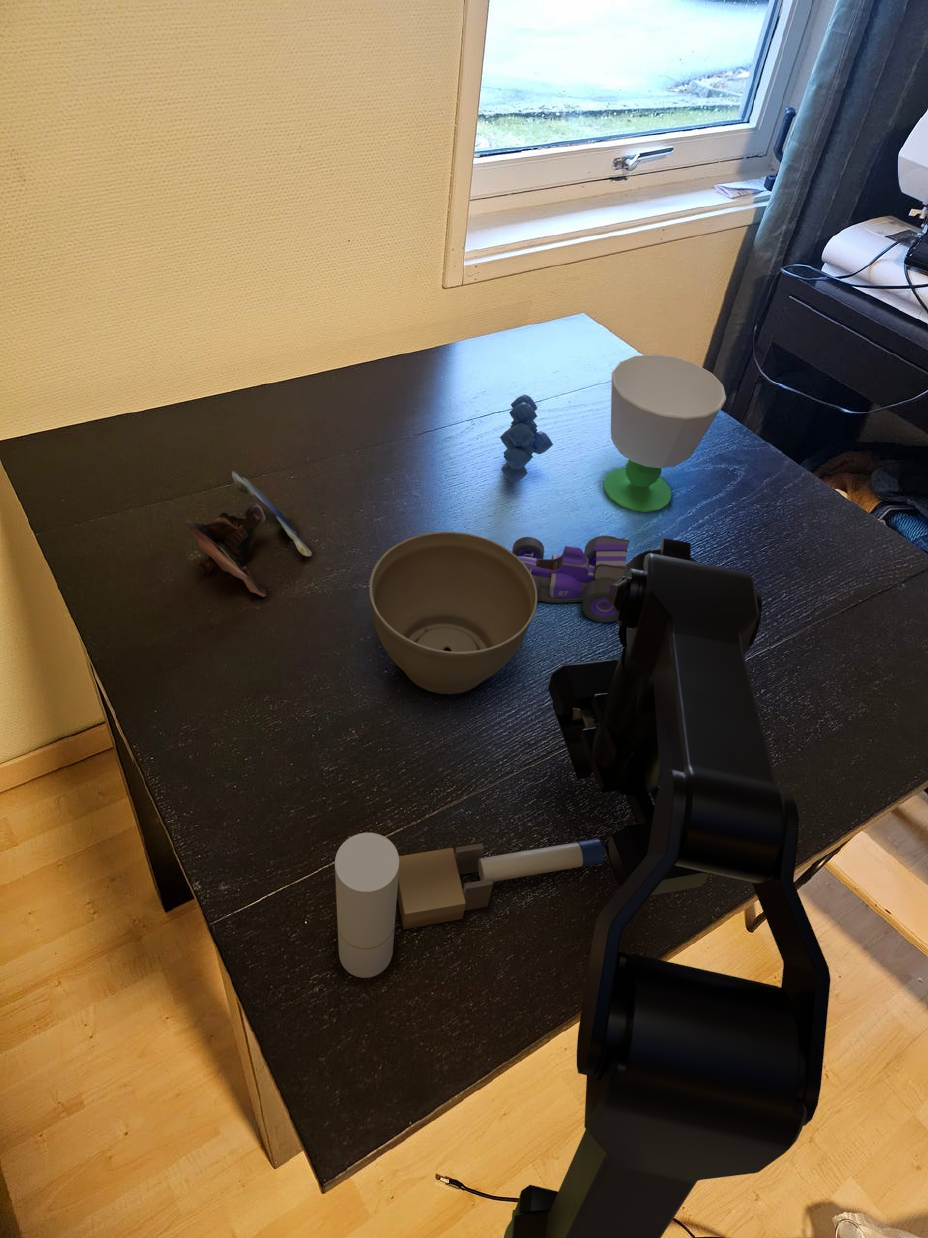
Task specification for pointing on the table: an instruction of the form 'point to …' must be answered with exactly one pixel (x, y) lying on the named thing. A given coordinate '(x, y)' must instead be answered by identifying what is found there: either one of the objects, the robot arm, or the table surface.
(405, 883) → the tan block with prongs
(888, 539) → the table surface
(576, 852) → the marker
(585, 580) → the toy race car
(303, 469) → the table surface
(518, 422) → the grapes
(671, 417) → the cup
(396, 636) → the planter bowl
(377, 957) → the tube
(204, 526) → the figurine
